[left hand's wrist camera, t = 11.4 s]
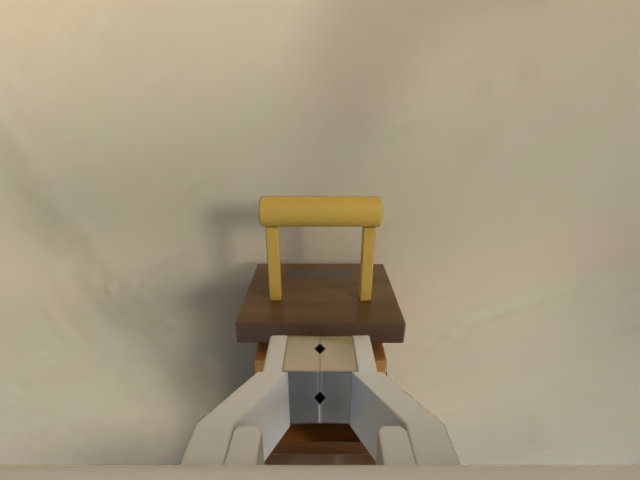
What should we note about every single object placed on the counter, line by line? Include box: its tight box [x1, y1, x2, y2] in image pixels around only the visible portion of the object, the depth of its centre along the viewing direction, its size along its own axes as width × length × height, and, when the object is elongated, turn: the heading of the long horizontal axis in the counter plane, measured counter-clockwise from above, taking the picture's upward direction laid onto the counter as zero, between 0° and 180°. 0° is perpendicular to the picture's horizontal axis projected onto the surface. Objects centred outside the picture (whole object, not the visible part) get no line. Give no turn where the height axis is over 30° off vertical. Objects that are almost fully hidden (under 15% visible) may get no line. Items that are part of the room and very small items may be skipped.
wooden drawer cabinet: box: [254, 371, 387, 465], centre depth 26 cm, size 14×10×8 cm, turn 0°
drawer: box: [235, 196, 406, 442], centre depth 21 cm, size 19×8×7 cm, turn 0°
